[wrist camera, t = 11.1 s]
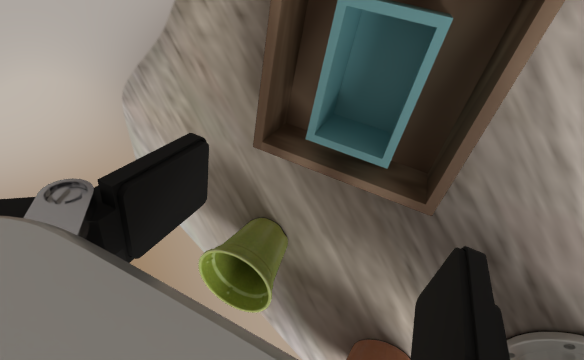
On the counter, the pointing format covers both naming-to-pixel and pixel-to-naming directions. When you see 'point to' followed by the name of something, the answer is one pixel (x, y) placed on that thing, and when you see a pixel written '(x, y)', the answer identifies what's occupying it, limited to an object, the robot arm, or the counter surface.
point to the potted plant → (375, 351)
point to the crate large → (429, 107)
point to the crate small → (374, 75)
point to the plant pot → (245, 265)
